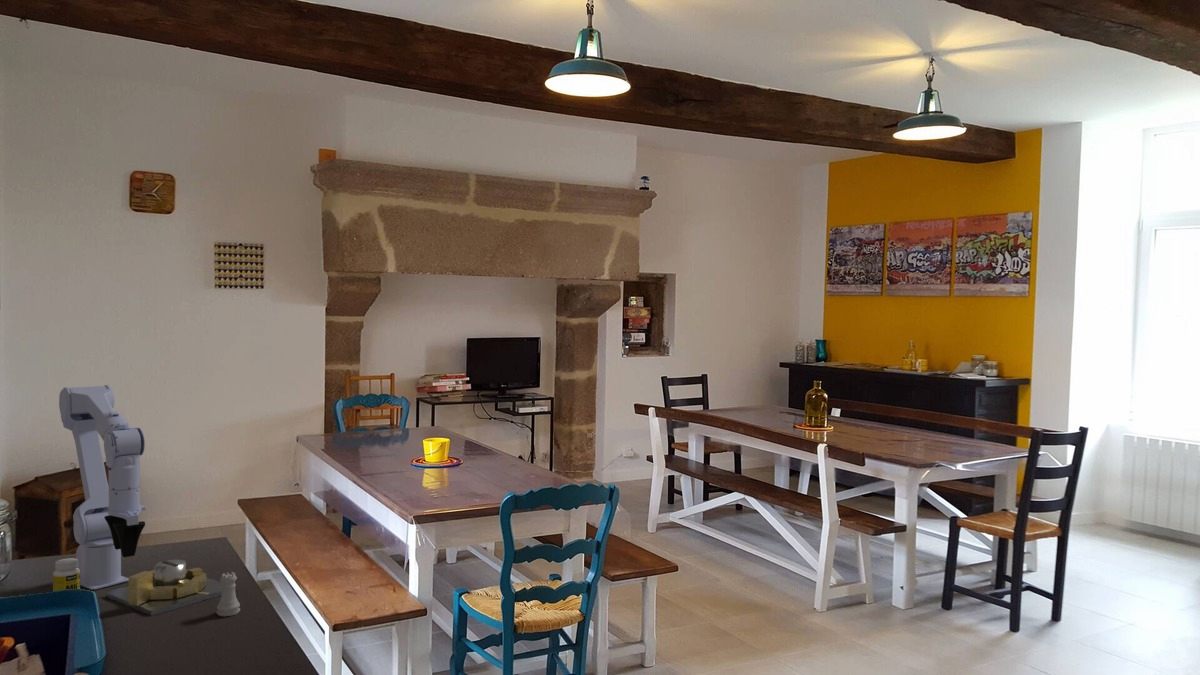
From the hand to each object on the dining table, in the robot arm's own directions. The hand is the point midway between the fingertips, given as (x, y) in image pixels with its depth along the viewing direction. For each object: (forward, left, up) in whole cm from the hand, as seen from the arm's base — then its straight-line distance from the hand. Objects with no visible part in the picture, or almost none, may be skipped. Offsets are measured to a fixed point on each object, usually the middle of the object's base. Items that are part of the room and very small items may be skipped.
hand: (124, 552), depth 181 cm
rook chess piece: (+24, +8, -10) cm, 27 cm away
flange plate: (+4, +7, -10) cm, 13 cm away
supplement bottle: (-8, -8, -10) cm, 15 cm away
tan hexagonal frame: (+4, +6, -9) cm, 11 cm away
